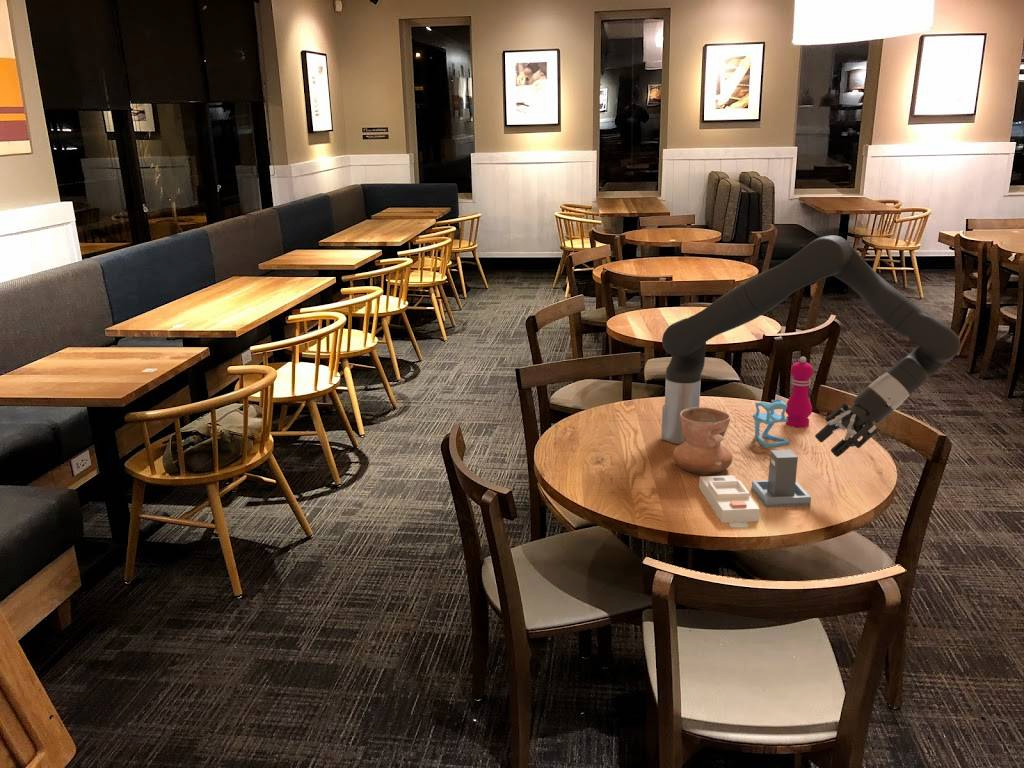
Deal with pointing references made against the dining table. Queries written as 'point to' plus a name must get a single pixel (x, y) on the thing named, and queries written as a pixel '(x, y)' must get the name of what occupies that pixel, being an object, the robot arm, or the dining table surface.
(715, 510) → the white rectangular base
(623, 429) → the dining table surface
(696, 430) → the ceramic jug
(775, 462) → the block
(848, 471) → the dining table surface
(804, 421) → the pepper mill
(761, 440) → the chair
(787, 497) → the tray
